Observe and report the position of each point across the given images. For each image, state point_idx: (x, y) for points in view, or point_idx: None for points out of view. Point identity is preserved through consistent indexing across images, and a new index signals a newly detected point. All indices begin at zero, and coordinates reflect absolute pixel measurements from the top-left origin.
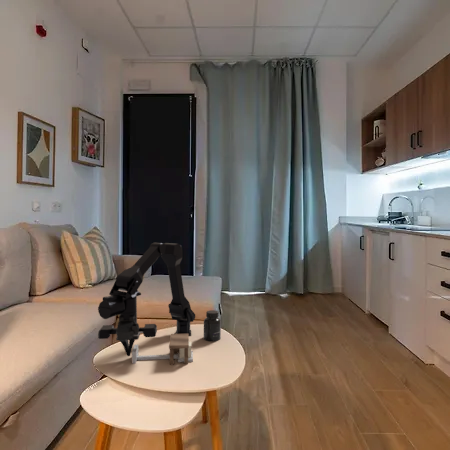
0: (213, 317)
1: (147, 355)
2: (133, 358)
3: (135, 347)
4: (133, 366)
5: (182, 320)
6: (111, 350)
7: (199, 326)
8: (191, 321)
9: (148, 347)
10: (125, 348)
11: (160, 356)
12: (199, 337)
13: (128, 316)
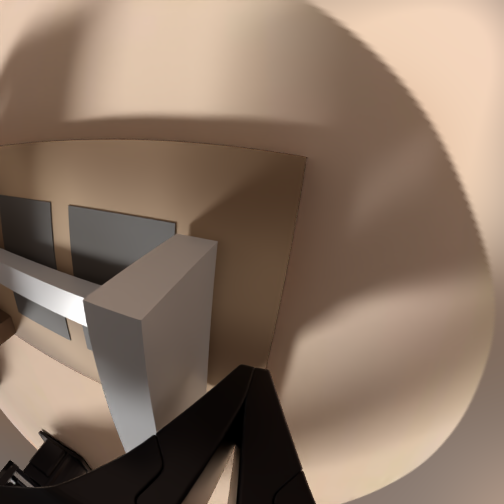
0: None
1: (78, 320)
2: (176, 260)
3: (134, 430)
4: None
5: (35, 486)
6: (362, 483)
7: None
8: (11, 462)
9: None
10: (277, 454)
11: (7, 264)
12: (19, 409)
13: None
